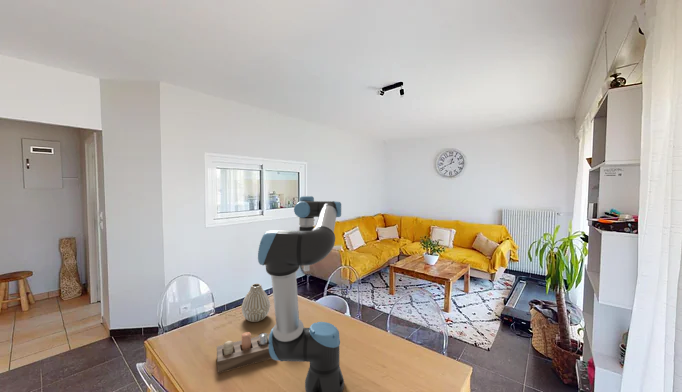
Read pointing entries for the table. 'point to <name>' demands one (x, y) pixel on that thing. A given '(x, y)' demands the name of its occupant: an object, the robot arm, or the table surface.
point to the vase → (255, 304)
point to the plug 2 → (263, 339)
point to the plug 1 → (228, 347)
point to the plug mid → (246, 341)
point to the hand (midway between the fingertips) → (306, 270)
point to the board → (242, 355)
